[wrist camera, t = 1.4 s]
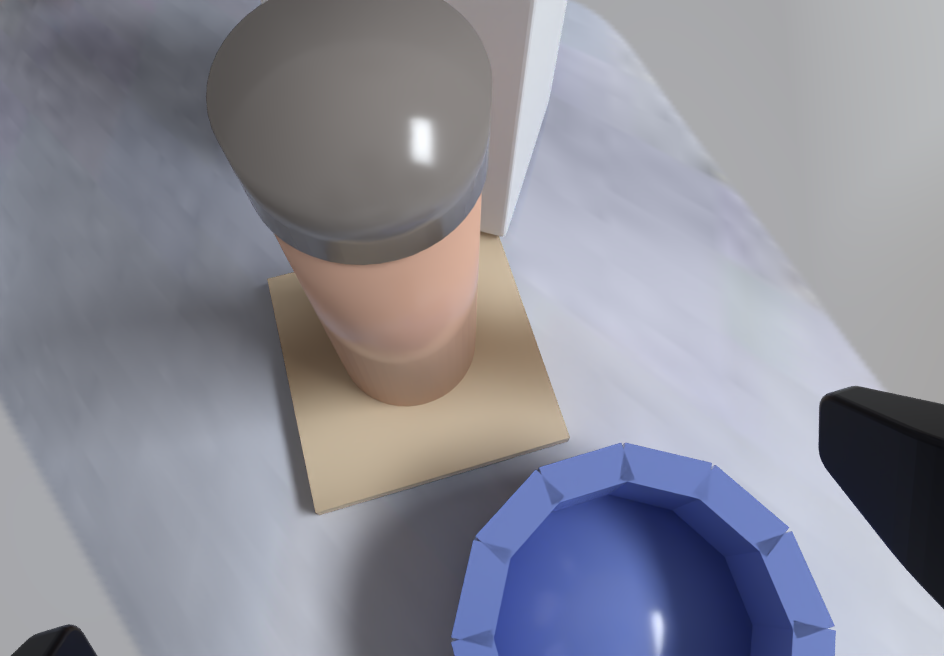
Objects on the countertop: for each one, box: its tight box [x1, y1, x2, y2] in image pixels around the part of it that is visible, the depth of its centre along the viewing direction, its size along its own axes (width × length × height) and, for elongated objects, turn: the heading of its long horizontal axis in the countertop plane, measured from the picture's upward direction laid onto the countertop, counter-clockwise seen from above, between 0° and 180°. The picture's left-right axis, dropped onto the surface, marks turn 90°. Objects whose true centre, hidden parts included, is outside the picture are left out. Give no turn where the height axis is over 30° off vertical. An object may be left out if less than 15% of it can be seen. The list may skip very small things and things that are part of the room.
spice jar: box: [206, 0, 493, 406], centre depth 17 cm, size 5×5×12 cm
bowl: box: [451, 443, 836, 656], centre depth 18 cm, size 9×9×4 cm
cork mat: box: [267, 231, 570, 515], centre depth 22 cm, size 8×8×1 cm
